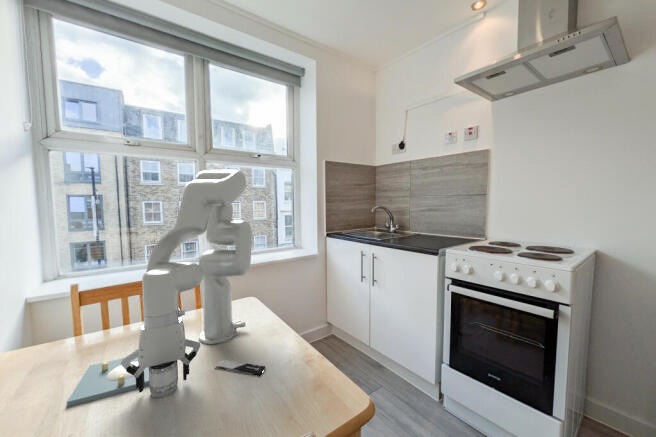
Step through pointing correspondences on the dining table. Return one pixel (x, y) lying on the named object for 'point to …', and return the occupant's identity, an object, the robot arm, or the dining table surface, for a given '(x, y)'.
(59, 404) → the dining table surface
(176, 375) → the camera lens
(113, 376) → the pin board
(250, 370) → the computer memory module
